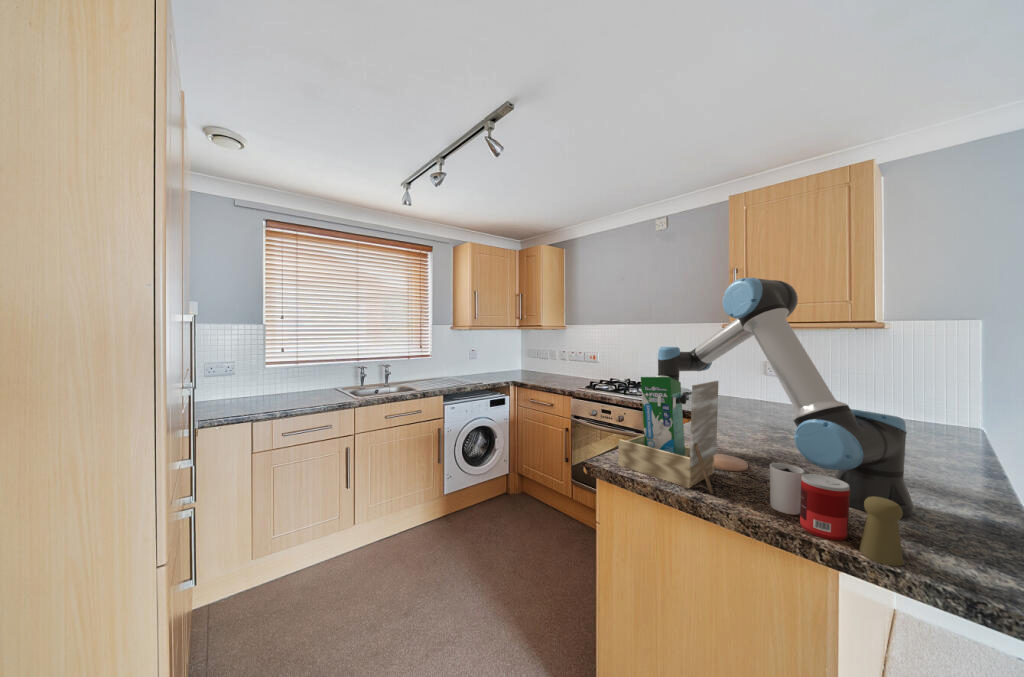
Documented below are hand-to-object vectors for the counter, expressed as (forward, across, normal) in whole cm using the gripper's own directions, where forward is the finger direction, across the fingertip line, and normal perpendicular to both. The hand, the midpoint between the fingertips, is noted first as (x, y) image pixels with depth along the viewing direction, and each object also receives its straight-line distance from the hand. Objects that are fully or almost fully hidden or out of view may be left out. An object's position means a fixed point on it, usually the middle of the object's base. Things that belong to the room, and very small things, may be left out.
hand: (666, 402), depth 110 cm
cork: (+26, -39, -22) cm, 51 cm away
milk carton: (-6, 0, -18) cm, 19 cm away
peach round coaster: (-18, -17, -21) cm, 33 cm away
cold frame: (-3, -2, -22) cm, 22 cm away
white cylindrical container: (+11, -27, -22) cm, 36 cm away
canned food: (+19, -32, -22) cm, 43 cm away
